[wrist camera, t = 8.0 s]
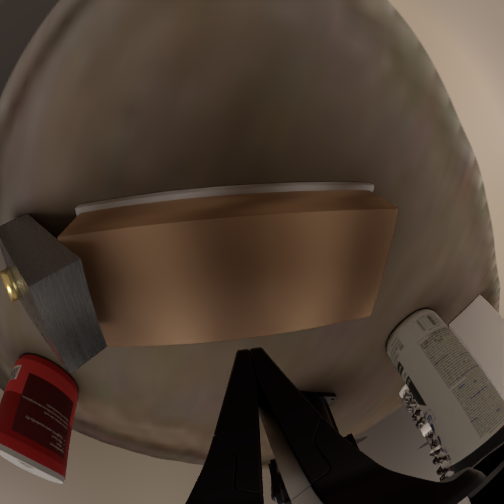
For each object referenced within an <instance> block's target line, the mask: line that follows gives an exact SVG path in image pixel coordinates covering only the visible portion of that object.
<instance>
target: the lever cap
mask: <svg viewBox="0 0 504 504" xmlns="http://www.w3.org/2000/svg"><path fill="white" fill-rule="evenodd" d="M0 248H1V251H2V254H3V257H4V261H5V264H6V267H7V268H6V269H4V270H2V271H0V275H1V278H2V281H3V283H4V286H5V288H6V290H7V293H8V295H9V297H10V299H11V301H12V303H13V302H14V301H16V300H17V299H19V300H20V302H21V303H22V305H23V307H24V308H25V310H26V312H27V313H28V315H29V317H30V318H31V320H32V321H33V323H34V324H35V326H36V328H37V329H38V331H39V332H40V334H41V335H42V336H43V338H44V339H45V341H46V342H47V344H48V345H49V346H50V348H51V349H52V350H53V352H54V353H55V354H56V356H57V357H58V358H59V360H60V361H61V362H62V363H63V365H64V366H65V367H66V368H67V370H68V371H69V372H70V373H73V372H74V371H75V370H77V369H78V368H79V367H81V366H82V365H83V364H85V363H86V362H87V361H89V360H90V359H91V358H92V357H94V356H95V355H96V354H98V353H99V352H100V351H102V350H103V349H104V348H106V347H107V344H106V341H105V339H104V336H103V333H102V330H101V327H100V325H99V322H98V319H97V315H96V312H95V309H94V306H93V303H92V299H91V296H90V292H89V289H88V285H87V281H86V277H85V274H84V269H83V265H82V261H81V258H79V257H78V256H77V255H76V254H74V253H73V252H72V251H71V250H69V249H68V248H67V247H66V246H64V245H63V244H62V243H61V242H60V241H58V240H57V239H56V238H55V237H54V236H53V235H51V234H50V233H49V232H48V231H47V230H46V229H44V228H43V227H42V226H41V225H40V224H39V223H38V222H37V221H35V220H34V219H33V218H32V217H31V216H30V215H29V214H26V215H23V216H21V217H19V218H16V219H14V220H12V221H10V222H7V223H5V224H3V225H1V226H0Z"/></svg>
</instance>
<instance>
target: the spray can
mask: <svg viewBox="0 0 504 504" xmlns="http://www.w3.org/2000/svg"><path fill="white" fill-rule="evenodd" d="M386 349H387V353H388V355H389V357H390V359H391V360H392V362H393V364H394V365H395V367H396V368H397V370H398V372H399V373H400V375H401V377H402V378H403V380H404V381H405V383H406V385H407V386H408V388H409V390H410V391H411V393H412V395H413V396H414V398H415V400H416V402H417V403H418V405H419V407H420V409H421V410H422V412H423V414H424V416H425V418H426V419H427V421H428V423H429V425H430V427H431V429H432V430H433V432H434V434H435V436H436V438H437V440H438V442H439V444H440V446H441V447H442V449H443V451H444V453H445V455H446V457H447V459H448V461H449V463H450V465H451V468H452V470H453V471H454V473H457V472H459V471H461V470H463V469H465V468H467V467H470V468H471V467H472V466H473V465H475V464H476V463H477V462H478V461H479V460H481V459H482V458H483V457H484V456H486V455H487V454H488V453H489V452H491V451H492V450H493V449H495V448H496V447H497V446H499V445H500V444H502V443H503V442H504V401H503V399H502V398H501V396H500V395H499V393H498V392H497V390H496V389H495V387H494V386H493V384H492V383H491V382H490V380H489V379H488V377H487V376H486V375H485V373H484V372H483V370H482V369H481V368H480V366H479V365H478V364H477V362H476V361H475V360H474V358H473V357H472V356H471V355H470V353H469V352H468V351H467V349H466V348H465V347H464V346H463V345H462V343H461V342H460V341H459V339H458V338H457V337H456V336H455V335H454V333H453V332H452V331H451V330H450V329H449V327H448V326H447V325H446V324H445V323H444V322H443V320H442V319H441V318H440V317H439V316H438V315H437V314H436V313H435V312H434V311H432V310H429V309H423V310H419V311H416V312H415V313H414V314H412V315H411V316H409V317H408V318H407V319H405V320H404V321H403V322H402V323H401V324H400V325H399V326H398V327H397V328H396V329H395V330H394V332H393V333H392V334H391V336H390V338H389V340H388V342H387V346H386Z"/></svg>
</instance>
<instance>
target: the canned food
mask: <svg viewBox="0 0 504 504" xmlns="http://www.w3.org/2000/svg"><path fill="white" fill-rule="evenodd" d="M77 400H78V389H77V386H76V384H75V382H74V381H73V379H72V378H71V377H70V376H69V375H68V374H67V373H66V372H65V371H64V370H63V369H61V368H60V367H58V366H57V365H56V364H54V363H52V362H51V361H49V360H47V359H45V358H42V357H39V356H36V355H29V354H27V355H23V356H21V357H20V359H19V360H18V361H17V362H16V364H15V366H14V369H13V371H12V373H11V376H10V378H9V381H8V383H7V386H6V389H5V391H4V394H3V397H2V400H1V403H0V455H1V456H2V457H3V458H5V459H7V460H8V461H10V462H11V463H13V464H15V465H17V466H18V467H20V468H22V469H24V470H26V471H28V472H30V473H33V474H35V475H37V476H39V477H42V478H44V479H47V480H50V481H53V482H56V483H61V484H63V483H64V480H65V475H66V467H67V457H68V450H69V443H70V437H71V430H72V425H73V420H74V414H75V409H76V405H77Z"/></svg>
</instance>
